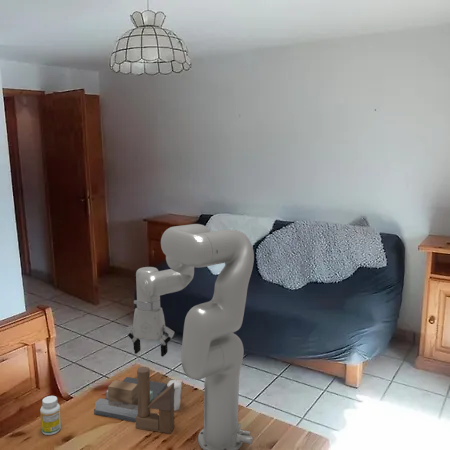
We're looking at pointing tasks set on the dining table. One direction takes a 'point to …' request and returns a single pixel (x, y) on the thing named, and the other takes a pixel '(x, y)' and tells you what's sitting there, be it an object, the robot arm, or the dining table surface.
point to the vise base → (133, 380)
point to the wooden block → (154, 405)
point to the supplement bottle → (50, 415)
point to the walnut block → (123, 392)
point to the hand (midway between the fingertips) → (150, 353)
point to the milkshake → (176, 392)
